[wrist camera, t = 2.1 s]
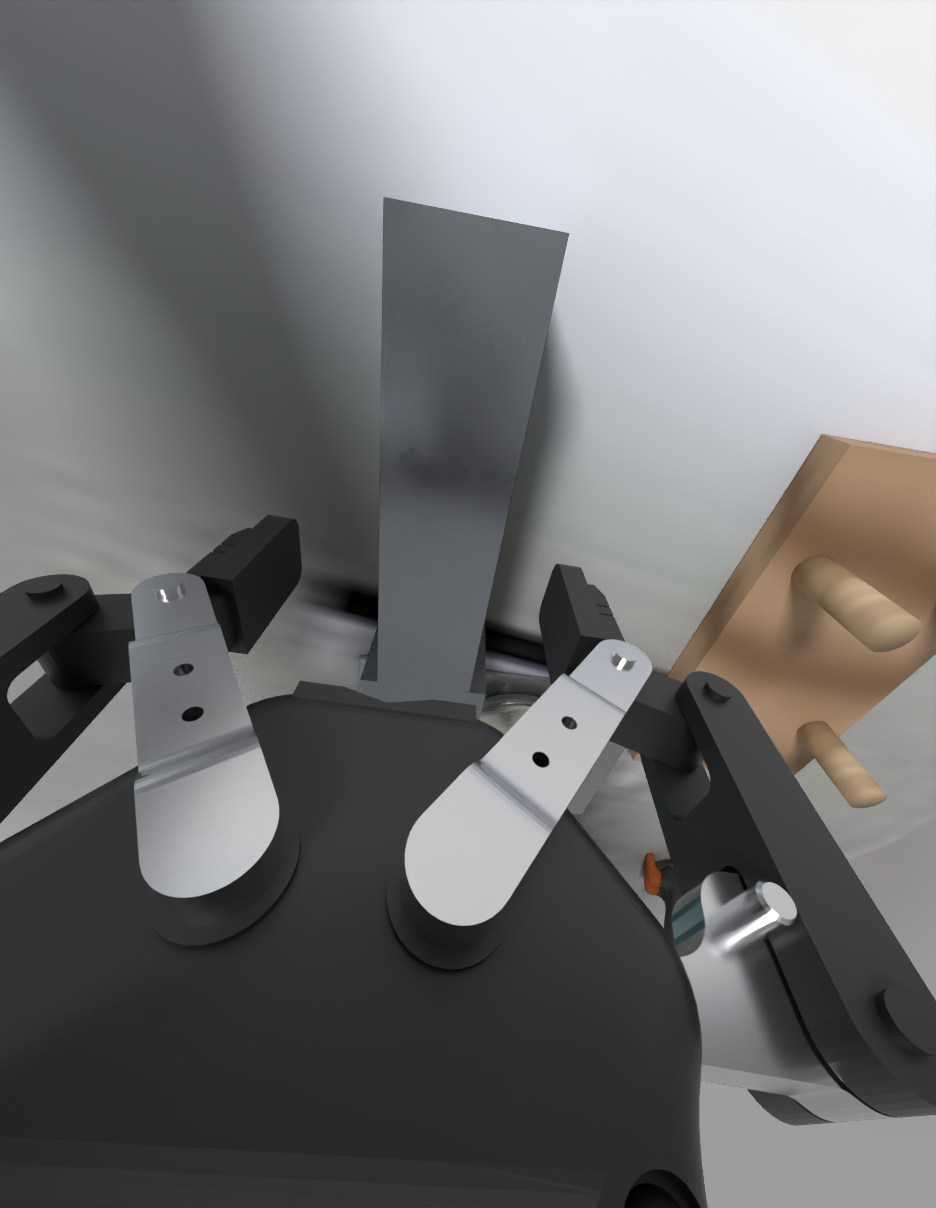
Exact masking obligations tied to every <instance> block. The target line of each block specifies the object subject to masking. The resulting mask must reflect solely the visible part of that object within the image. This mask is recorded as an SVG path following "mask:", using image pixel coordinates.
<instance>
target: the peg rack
mask: <svg viewBox="0 0 936 1208" xmlns="http://www.w3.org/2000/svg"><path fill="white" fill-rule="evenodd" d="M935 654H936V454H935V453H929V452H923V451H917V450H911V449H906V448H900V447H894V446H888V445H882V444H876V443H870V442H864V441H858V440H853V439H847V438H841V437H835V436H829V435H823V434H822V436H821V437H820V439H819V440H818V442H817V443H816V445H815V446H814V448H813V450H812V451H811V453H810V454H809V456H808V457H807V459H806V461H805V462H804V464H803V465H802V467H801V468H800V470H799V471H798V473H797V475H796V476H795V478H794V479H793V481H792V482H791V484H790V486H789V487H788V489H787V490H786V492H785V493H784V495H783V496H782V498H781V500H780V501H779V503H778V504H777V506H776V507H775V509H774V510H773V512H772V514H771V515H770V517H769V518H768V520H767V521H766V523H765V525H764V526H763V528H762V529H761V531H760V532H759V534H758V535H757V537H756V539H755V540H754V542H753V543H752V545H751V546H750V548H749V550H748V551H747V553H746V554H745V556H744V557H743V559H742V560H741V562H740V564H739V565H738V567H737V568H736V570H735V571H734V573H733V574H732V576H731V578H730V579H729V581H728V582H727V584H726V585H725V587H724V589H723V590H722V592H721V593H720V595H719V596H718V598H717V599H716V601H715V603H714V604H713V606H712V607H711V609H710V610H709V612H708V614H707V615H706V617H705V618H704V620H703V621H702V623H701V624H700V626H699V628H698V629H697V631H696V632H695V634H694V635H693V637H692V639H691V640H690V642H689V643H688V645H687V646H686V648H685V649H684V651H683V653H682V654H681V656H680V657H679V659H678V660H677V662H676V663H675V665H674V667H673V668H672V670H671V671H670V673H669V674H668V676H667V677H669V678H672V679H675V680H677V681H680V682H683V681H684V680H685V679H686V677H687V676H688V674H690V673H691V672H694V671H704V672H708V673H712V674H714V675H717V676H719V677H721V678H723V679H725V680H726V681H728V682H729V683H731V684H732V685H733V686H735V687H736V688H737V689H738V690H739V691H740V692H741V693H742V694H743V696H744V697H745V699H746V700H747V702H748V703H749V705H750V707H751V708H752V710H753V711H754V713H755V715H756V716H757V718H758V719H759V721H760V723H761V724H762V726H763V727H764V729H765V730H766V732H767V734H768V735H769V737H770V738H771V740H772V742H773V743H774V745H775V746H776V748H777V750H778V751H779V753H780V754H781V756H782V757H783V759H784V761H785V762H786V764H787V765H788V767H789V769H790V770H791V772H792V773H793V775H795V774H796V773H797V772H799V771H800V770H801V769H802V768H803V767H804V766H806V765H807V764H808V763H809V762H810V761H811V760H813V759H814V758H815V759H816V760H817V762H818V763H819V764H820V766H821V767H822V768H823V770H824V771H825V772H826V774H827V775H828V776H829V778H830V779H831V781H832V782H833V783H834V785H835V786H836V787H837V789H838V790H839V791H840V793H841V794H842V795H843V797H844V798H845V799H846V801H847V802H848V803H849V805H850V806H851V807H854V808H867V807H871V806H875V805H877V804H879V803H881V802H883V801H884V800H885V799H886V798H887V795H886V794H885V793H884V792H883V790H882V789H881V788H880V787H879V786H878V784H877V783H876V782H875V781H874V780H873V778H872V777H871V776H870V775H869V774H868V772H867V771H866V770H865V769H864V768H863V766H862V765H861V764H860V763H859V762H858V760H857V759H856V758H855V757H854V756H853V754H852V753H851V752H850V751H849V750H848V748H847V747H846V746H845V745H844V744H843V742H842V741H841V740H840V739H839V738H838V737H839V736H841V735H842V734H843V733H844V732H845V731H846V730H848V729H849V728H850V727H851V726H852V725H853V724H854V723H856V722H857V721H858V720H859V719H860V718H861V717H863V716H864V715H865V714H866V713H867V712H868V711H870V710H871V709H872V708H873V707H874V706H875V705H877V704H878V703H879V702H880V701H881V700H882V699H884V698H885V697H886V696H887V695H888V694H889V693H891V692H892V691H893V690H894V689H895V688H896V687H898V686H899V685H900V684H901V683H902V682H903V681H905V680H906V679H907V678H908V677H909V676H910V675H912V674H913V673H914V672H915V671H916V670H917V669H919V668H920V667H921V666H922V665H923V664H924V663H926V662H927V661H928V660H929V659H930V658H931V657H933V656H934V655H935ZM629 750H630V749H629ZM630 753H631V756H632V759H633V760H636V761H641V757H640V754H639V753H637V752H635V751H632V750H630ZM702 764H703V767H704V768H707V766H706V763H705V761H703V762H702ZM707 769H708V768H707Z"/></svg>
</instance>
